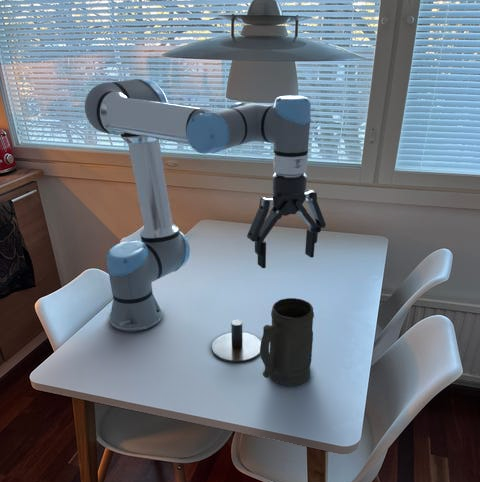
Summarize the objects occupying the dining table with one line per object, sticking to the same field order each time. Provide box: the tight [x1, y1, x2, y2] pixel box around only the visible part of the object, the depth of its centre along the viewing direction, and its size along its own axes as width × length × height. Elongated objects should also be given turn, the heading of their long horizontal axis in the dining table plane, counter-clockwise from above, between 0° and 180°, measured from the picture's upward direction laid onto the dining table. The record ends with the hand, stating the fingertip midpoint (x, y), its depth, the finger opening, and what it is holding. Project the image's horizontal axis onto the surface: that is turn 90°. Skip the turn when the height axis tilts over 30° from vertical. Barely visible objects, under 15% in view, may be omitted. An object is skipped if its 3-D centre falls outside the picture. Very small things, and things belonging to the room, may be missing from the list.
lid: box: [211, 319, 262, 364], centre depth 129 cm, size 14×14×8 cm
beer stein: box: [259, 297, 315, 387], centre depth 115 cm, size 15×11×20 cm
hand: (285, 260), depth 116 cm, fingers open, 13 cm apart
